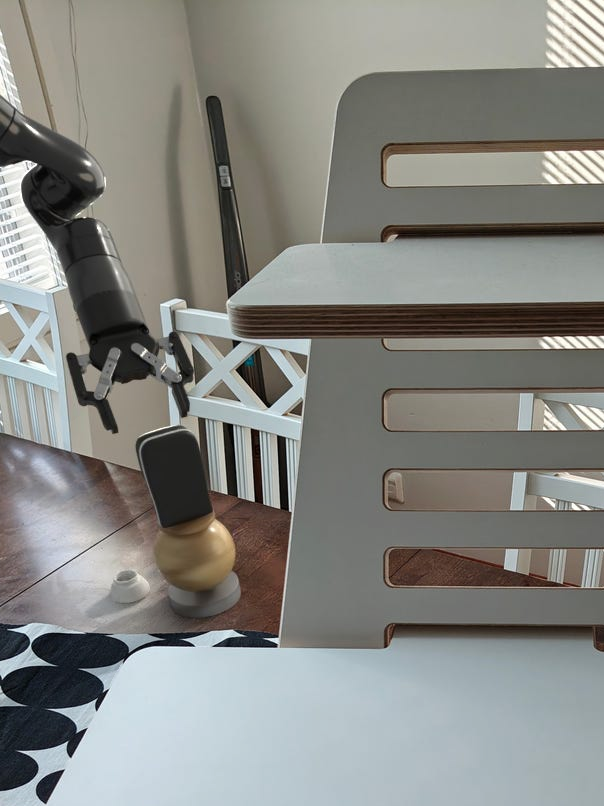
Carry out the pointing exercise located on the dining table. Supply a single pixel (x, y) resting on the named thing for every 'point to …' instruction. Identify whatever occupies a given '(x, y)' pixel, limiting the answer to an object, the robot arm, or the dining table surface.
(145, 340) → the robot arm
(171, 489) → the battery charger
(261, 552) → the dining table surface
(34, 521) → the dining table surface
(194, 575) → the lidded jar
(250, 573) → the dining table surface
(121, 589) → the lidless jar
